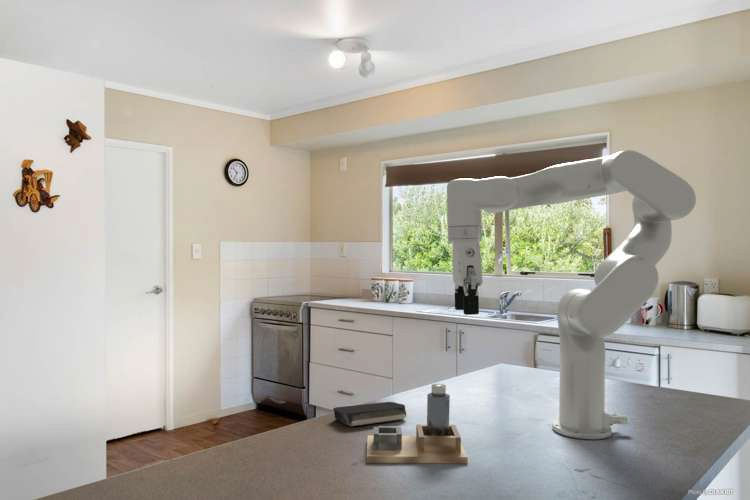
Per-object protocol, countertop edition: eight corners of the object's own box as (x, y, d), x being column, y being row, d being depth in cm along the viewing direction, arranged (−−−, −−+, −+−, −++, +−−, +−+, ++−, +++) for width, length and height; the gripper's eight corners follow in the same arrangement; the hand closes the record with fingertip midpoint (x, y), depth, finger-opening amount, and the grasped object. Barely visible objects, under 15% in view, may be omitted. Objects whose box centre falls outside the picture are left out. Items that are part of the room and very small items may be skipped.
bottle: (447, 441, 116) (448, 382, 116) (449, 449, 112) (450, 388, 112) (425, 441, 117) (426, 382, 116) (427, 449, 112) (428, 388, 112)
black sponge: (344, 431, 128) (345, 414, 128) (331, 420, 135) (331, 404, 135) (409, 422, 135) (409, 406, 135) (393, 412, 142) (393, 398, 142)
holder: (458, 441, 120) (458, 421, 120) (467, 463, 108) (467, 441, 108) (367, 441, 120) (367, 421, 120) (366, 462, 108) (366, 440, 108)
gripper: (491, 233, 119) (493, 316, 119) (472, 235, 136) (474, 307, 137) (455, 234, 119) (457, 317, 119) (441, 236, 136) (443, 308, 136)
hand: (466, 311), depth 128 cm, fingers open, 9 cm apart
